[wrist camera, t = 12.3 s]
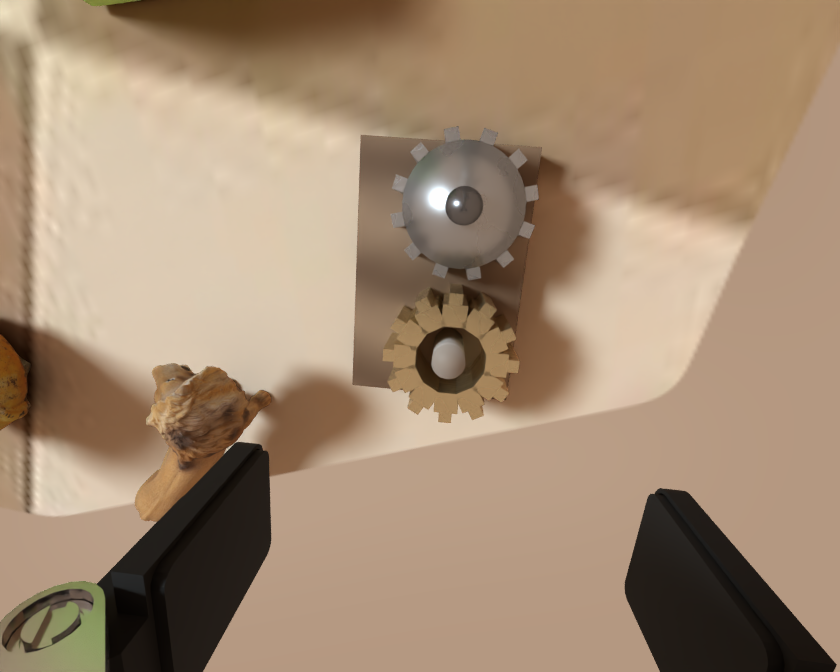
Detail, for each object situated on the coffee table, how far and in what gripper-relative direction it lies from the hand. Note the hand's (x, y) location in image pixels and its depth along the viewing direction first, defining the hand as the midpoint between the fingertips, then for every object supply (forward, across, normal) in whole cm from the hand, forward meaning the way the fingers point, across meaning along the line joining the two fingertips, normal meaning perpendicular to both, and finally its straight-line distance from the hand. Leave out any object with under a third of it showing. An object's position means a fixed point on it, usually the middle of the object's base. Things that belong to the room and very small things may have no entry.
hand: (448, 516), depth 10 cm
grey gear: (+16, 0, -8) cm, 18 cm away
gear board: (+18, +1, -4) cm, 19 cm away
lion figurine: (+18, +16, +8) cm, 26 cm away
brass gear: (+16, 0, 0) cm, 16 cm away
